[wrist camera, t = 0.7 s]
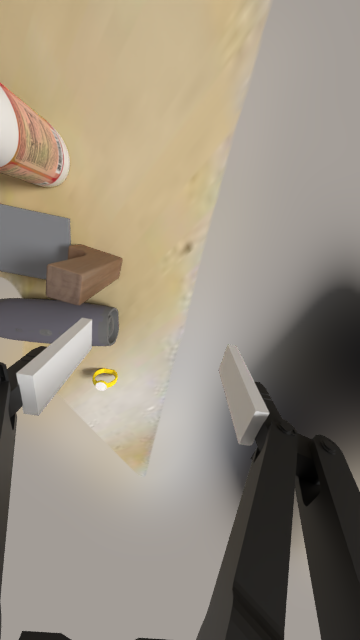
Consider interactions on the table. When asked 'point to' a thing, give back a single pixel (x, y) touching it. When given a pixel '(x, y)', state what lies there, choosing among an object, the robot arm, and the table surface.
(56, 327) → the bluetooth speaker
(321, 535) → the robot arm
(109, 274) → the wooden block
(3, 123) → the fruit juice
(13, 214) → the mat
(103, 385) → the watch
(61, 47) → the table surface
